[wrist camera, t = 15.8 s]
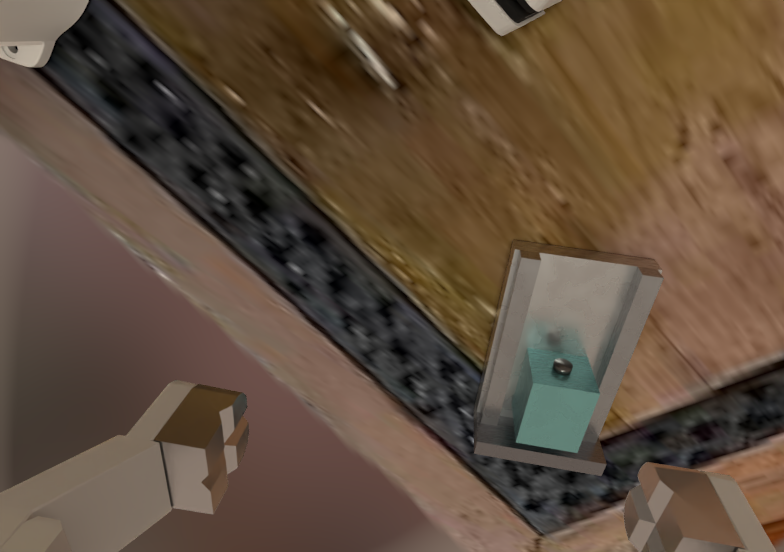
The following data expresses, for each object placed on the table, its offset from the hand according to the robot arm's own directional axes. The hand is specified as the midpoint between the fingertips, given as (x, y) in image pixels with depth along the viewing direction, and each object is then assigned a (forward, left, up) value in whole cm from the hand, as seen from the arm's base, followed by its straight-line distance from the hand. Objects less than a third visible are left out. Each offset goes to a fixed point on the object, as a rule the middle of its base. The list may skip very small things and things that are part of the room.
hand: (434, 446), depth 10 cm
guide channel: (+12, -19, -33) cm, 40 cm away
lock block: (+12, -22, -31) cm, 40 cm away
